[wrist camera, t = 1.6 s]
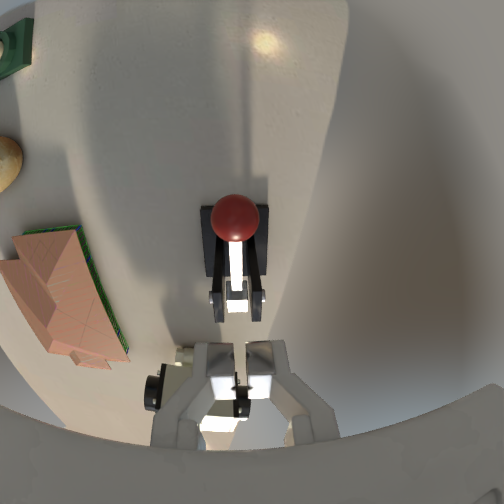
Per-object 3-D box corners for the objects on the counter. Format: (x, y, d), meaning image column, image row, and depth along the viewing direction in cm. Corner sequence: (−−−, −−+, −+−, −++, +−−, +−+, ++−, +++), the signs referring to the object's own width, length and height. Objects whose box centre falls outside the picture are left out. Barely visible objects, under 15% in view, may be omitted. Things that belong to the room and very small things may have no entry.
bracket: (200, 206, 37) (187, 266, 26) (267, 204, 38) (284, 263, 26) (206, 272, 43) (200, 342, 32) (265, 270, 44) (277, 339, 32)
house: (57, 349, 53) (46, 375, 46) (-4, 231, 35) (-28, 254, 29) (137, 357, 54) (130, 388, 47) (84, 219, 37) (59, 247, 30)
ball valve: (157, 359, 55) (145, 432, 40) (155, 334, 50) (139, 415, 35) (239, 368, 58) (244, 442, 43) (247, 345, 53) (253, 427, 38)
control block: (-9, 85, 22) (-25, 89, 18) (-8, 43, 17) (-23, 44, 14) (31, 64, 22) (14, 65, 19) (34, 18, 18) (18, 16, 15)
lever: (210, 185, 20) (207, 219, 18) (258, 183, 21) (262, 218, 18) (221, 289, 32) (221, 317, 30) (252, 288, 33) (254, 316, 30)
